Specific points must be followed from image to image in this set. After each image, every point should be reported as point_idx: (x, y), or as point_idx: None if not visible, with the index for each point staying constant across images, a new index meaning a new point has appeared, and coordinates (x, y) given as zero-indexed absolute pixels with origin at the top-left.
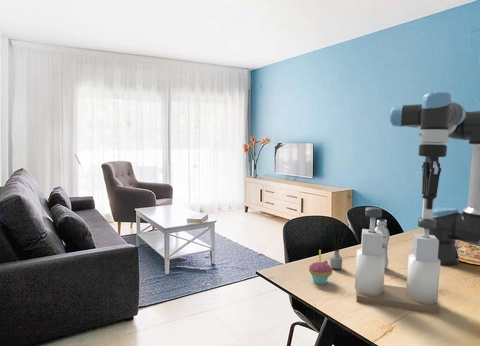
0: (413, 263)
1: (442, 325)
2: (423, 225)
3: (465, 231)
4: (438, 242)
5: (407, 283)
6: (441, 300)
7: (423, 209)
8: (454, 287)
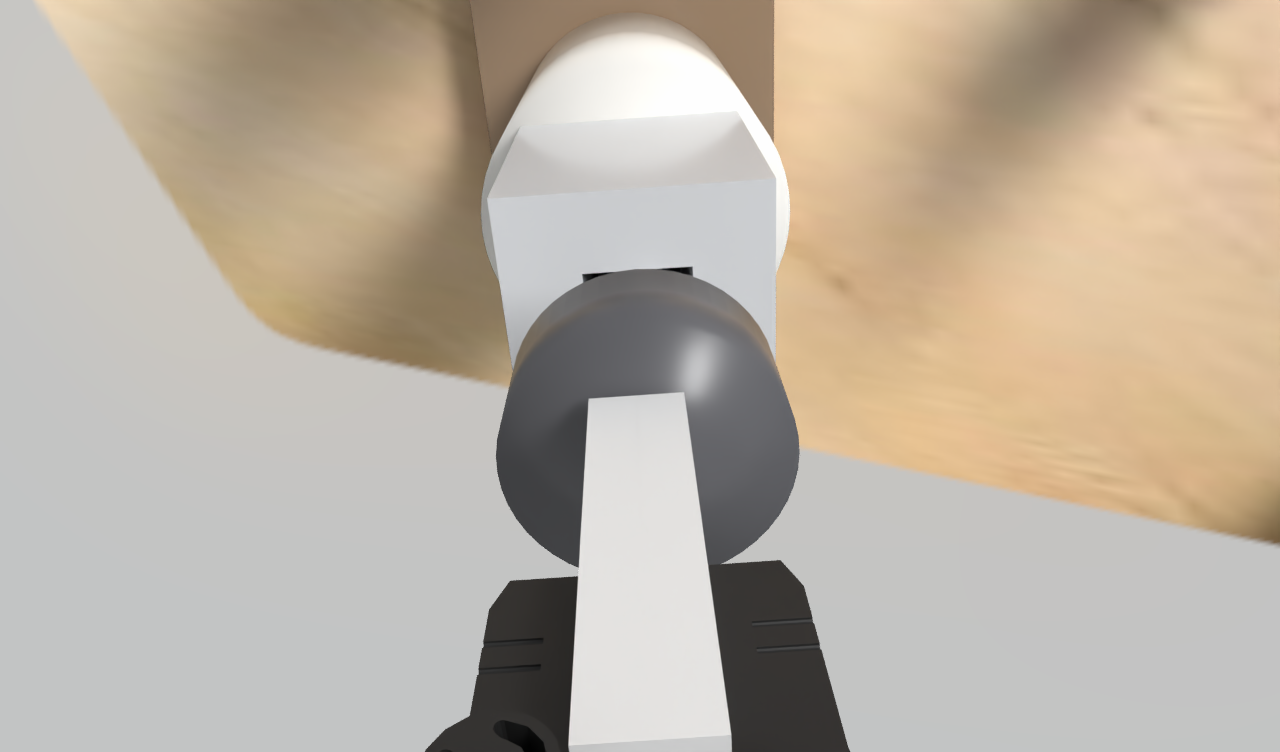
0: (531, 97)
1: (356, 205)
2: (520, 353)
3: None
4: None
5: (604, 27)
6: None
7: (598, 510)
8: (982, 376)
